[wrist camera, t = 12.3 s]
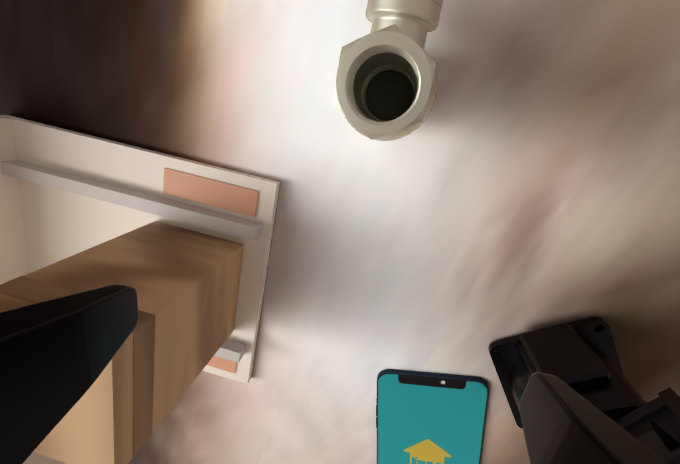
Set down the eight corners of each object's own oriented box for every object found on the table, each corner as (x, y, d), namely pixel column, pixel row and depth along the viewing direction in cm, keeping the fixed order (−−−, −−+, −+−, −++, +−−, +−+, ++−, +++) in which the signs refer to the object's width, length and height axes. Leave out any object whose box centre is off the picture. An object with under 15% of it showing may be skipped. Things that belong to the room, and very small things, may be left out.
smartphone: (376, 528, 28) (375, 373, 23) (376, 517, 29) (376, 365, 24) (471, 542, 27) (491, 382, 22) (469, 530, 27) (488, 373, 23)
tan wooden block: (244, 244, 22) (112, 349, 12) (233, 330, 24) (115, 480, 14) (155, 220, 22) (-42, 302, 12) (153, 307, 24) (-16, 435, 15)
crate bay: (280, 181, 21) (227, 208, 14) (250, 378, 26) (202, 460, 20) (8, 115, 22) (-143, 114, 16) (31, 311, 27) (-78, 368, 21)
